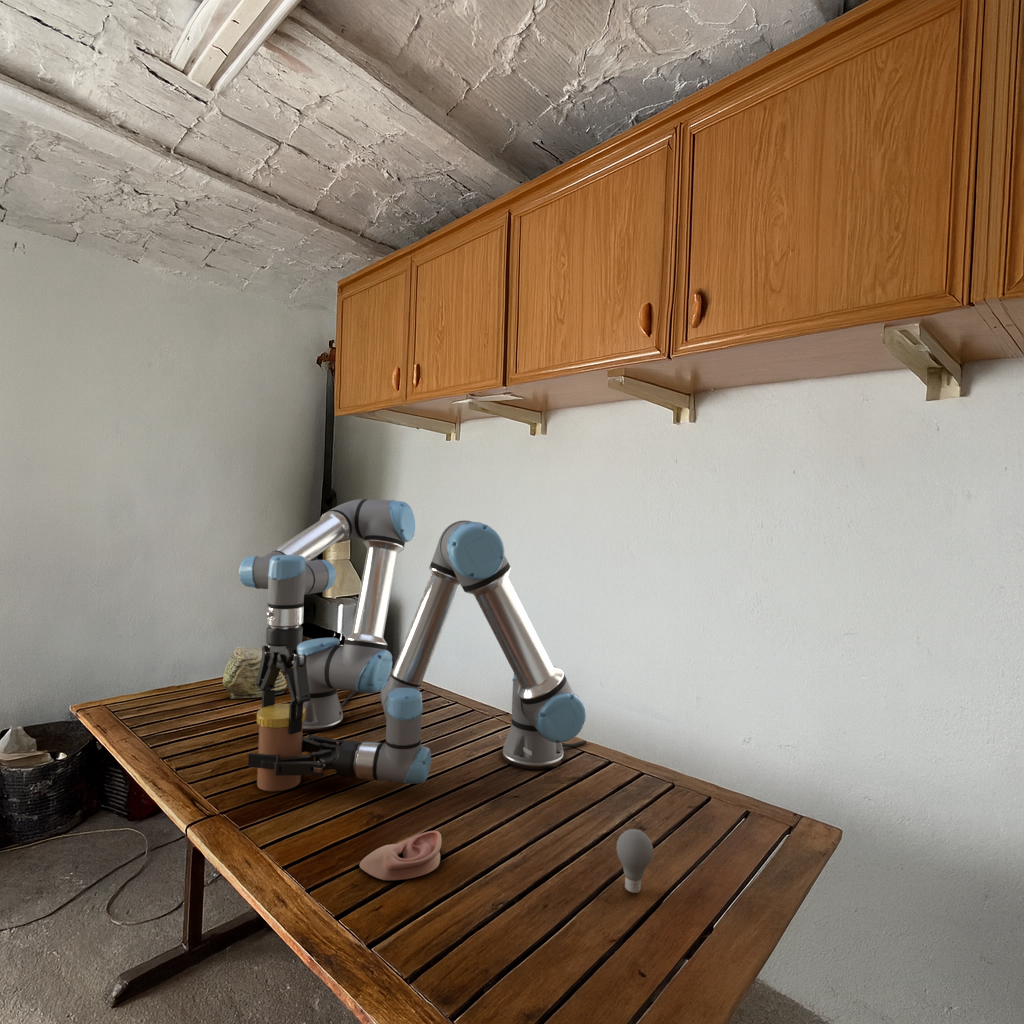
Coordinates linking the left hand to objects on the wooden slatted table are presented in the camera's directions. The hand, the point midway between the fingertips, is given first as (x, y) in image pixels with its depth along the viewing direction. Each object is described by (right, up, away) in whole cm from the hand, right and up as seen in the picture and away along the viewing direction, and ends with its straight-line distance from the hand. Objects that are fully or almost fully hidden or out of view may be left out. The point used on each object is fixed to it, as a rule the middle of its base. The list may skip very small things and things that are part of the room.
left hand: (281, 726), depth 140 cm
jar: (-1, -12, 0) cm, 12 cm away
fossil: (-30, -10, +59) cm, 66 cm away
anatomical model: (+31, -14, -29) cm, 45 cm away
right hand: (-5, -6, +1) cm, 7 cm away
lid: (0, +3, 0) cm, 3 cm away
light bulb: (+71, -16, -34) cm, 80 cm away
